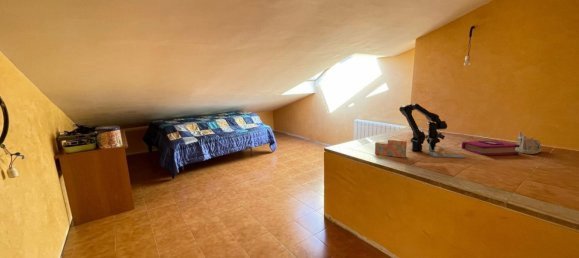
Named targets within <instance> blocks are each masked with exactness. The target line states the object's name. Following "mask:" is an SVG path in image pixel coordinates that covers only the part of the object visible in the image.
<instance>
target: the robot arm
mask: <svg viewBox="0 0 579 258" xmlns="http://www.w3.org/2000/svg"><path fill="white" fill-rule="evenodd" d="M398 110H399V112H400V113H401V115H403V116H404V117H405V119H406V121H407V123H408V124H409V126H410V129H411V131H412V138H410V140H409V141H410V143H411V151H412V152H423V144H424V142H425V140H426V142H427V144H430V146H431V149H432V150H434V147H435V145H436V146H437V144H438V143H441V140H444V139H445V137H446V135H444V134H443V133H442V132H441V130H447V128H448V124H447V122H446V120H441V118H440V116H439V114H436V113H435V112H430V111H429V110H427V109H426V108H424V107H423V106H421V105H420V104H419V103H411V104H405V105H404V104H403V105H401V106H400V107H399V109H398ZM413 111H416V112H418V113H420V114H421V115H423V116H424V117H425V118H426V119H427V122H426V125H428V130H427V133H428V134H425V132H424V130H420V129H419V126H418V124H417V122H416V120H415V118H414V116H413ZM438 130H440V132H438Z"/></svg>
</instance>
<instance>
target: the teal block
mask: <svg viewBox="0 0 579 258" xmlns="http://www.w3.org/2000/svg"><path fill="white" fill-rule="evenodd" d="M435 147H437V144H436V145H435ZM435 147H434V150H432V149H431V146H430V144H428V143H427V145H426V148H427V150H428V152H435Z"/></svg>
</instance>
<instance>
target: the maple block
mask: <svg viewBox="0 0 579 258" xmlns="http://www.w3.org/2000/svg"><path fill="white" fill-rule="evenodd" d="M445 151H446V148H445V147H443V146H436V147H435V151H434V152H435V154H436V155H444V153H446V152H445Z"/></svg>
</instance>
